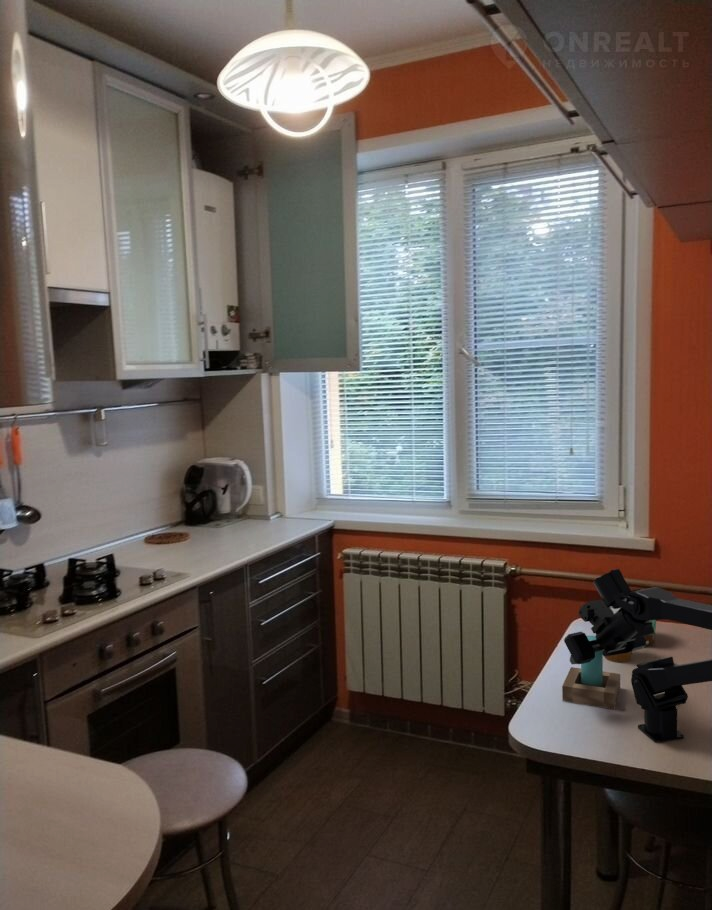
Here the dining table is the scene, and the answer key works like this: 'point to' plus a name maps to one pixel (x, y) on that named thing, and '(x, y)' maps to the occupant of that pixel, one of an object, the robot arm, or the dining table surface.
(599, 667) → the peg
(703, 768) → the dining table surface
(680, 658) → the dining table surface
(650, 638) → the food container
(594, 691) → the block
